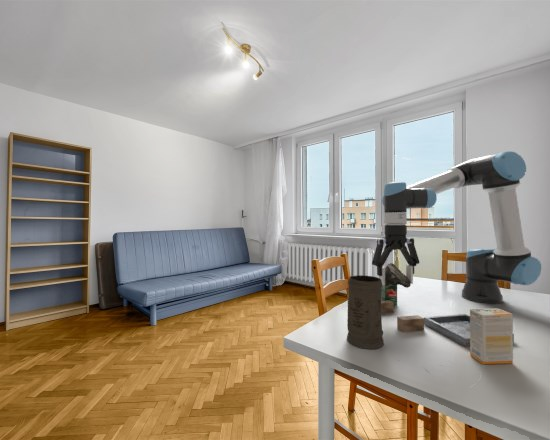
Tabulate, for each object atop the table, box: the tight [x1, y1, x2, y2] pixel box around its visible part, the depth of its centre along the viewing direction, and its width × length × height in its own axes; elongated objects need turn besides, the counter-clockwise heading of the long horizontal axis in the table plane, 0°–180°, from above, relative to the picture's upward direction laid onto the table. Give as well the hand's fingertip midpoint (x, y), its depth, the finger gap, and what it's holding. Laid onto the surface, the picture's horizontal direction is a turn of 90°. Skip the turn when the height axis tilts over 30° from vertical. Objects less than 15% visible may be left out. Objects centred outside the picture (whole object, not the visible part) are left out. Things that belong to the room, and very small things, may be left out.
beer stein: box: [346, 274, 385, 350], centre depth 84 cm, size 15×11×20 cm
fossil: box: [384, 262, 412, 289], centre depth 99 cm, size 11×9×10 cm
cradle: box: [381, 300, 425, 333], centre depth 99 cm, size 8×20×4 cm, turn 10°
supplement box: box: [469, 308, 514, 365], centre depth 72 cm, size 8×5×13 cm, turn 92°
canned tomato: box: [381, 285, 398, 309], centre depth 116 cm, size 8×8×11 cm
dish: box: [423, 313, 515, 348], centre depth 88 cm, size 17×17×2 cm
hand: (395, 283), depth 99 cm, fingers closed on fossil, 10 cm apart
